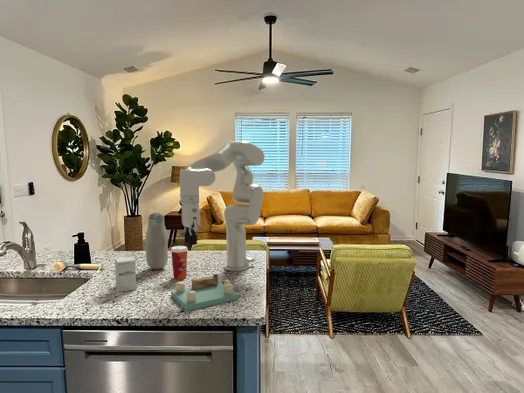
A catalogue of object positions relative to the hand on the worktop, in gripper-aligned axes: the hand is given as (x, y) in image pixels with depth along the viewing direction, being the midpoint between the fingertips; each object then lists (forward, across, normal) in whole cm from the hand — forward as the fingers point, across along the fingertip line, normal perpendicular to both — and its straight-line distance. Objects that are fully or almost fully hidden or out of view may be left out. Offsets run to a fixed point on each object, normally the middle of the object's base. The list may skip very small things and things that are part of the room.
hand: (190, 242), depth 151 cm
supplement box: (+20, +14, +24) cm, 34 cm away
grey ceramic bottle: (+20, +36, +4) cm, 41 cm away
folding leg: (+17, -7, -3) cm, 19 cm away
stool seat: (+19, -12, 0) cm, 23 cm away
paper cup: (+20, +16, 0) cm, 26 cm away
